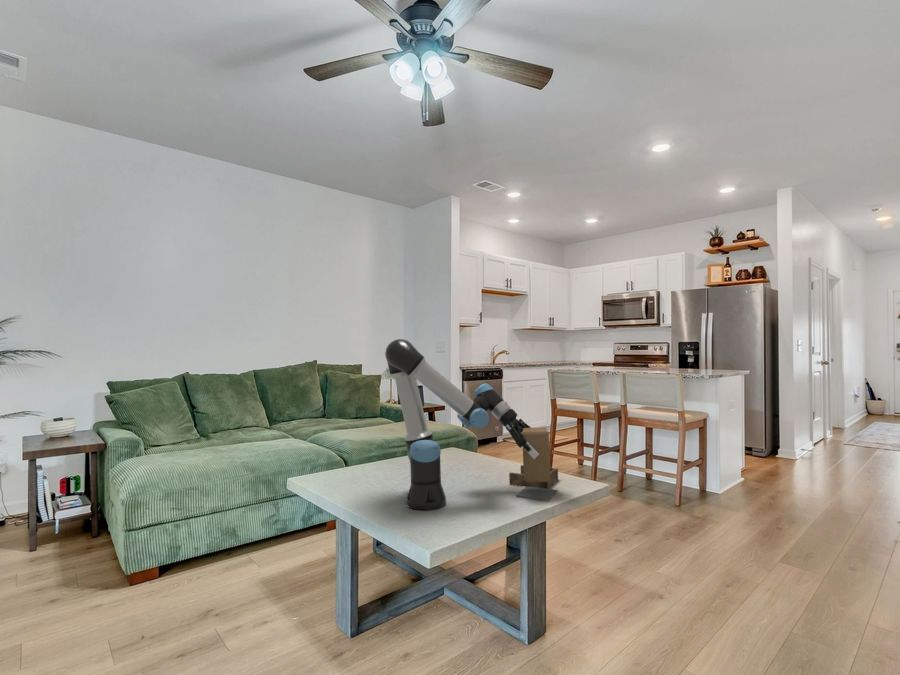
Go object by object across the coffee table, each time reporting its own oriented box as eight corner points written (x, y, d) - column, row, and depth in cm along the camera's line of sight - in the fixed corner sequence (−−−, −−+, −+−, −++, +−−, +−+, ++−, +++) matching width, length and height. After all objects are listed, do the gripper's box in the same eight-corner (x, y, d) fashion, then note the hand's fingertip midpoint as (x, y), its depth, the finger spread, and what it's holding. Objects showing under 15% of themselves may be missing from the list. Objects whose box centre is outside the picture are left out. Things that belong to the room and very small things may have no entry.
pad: (516, 497, 188) (516, 495, 188) (526, 488, 200) (526, 486, 200) (548, 501, 182) (548, 499, 182) (557, 491, 194) (557, 489, 194)
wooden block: (548, 475, 196) (546, 427, 196) (550, 482, 186) (548, 431, 186) (523, 476, 197) (521, 427, 197) (525, 482, 187) (523, 431, 187)
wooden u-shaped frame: (509, 484, 205) (509, 473, 205) (521, 476, 219) (521, 465, 219) (547, 489, 197) (547, 477, 197) (558, 479, 211) (557, 468, 211)
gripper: (499, 411, 186) (538, 453, 178) (520, 404, 207) (556, 441, 200) (487, 424, 188) (525, 466, 181) (509, 416, 210) (544, 453, 202)
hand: (541, 453), depth 190 cm, fingers closed on wooden block, 12 cm apart
